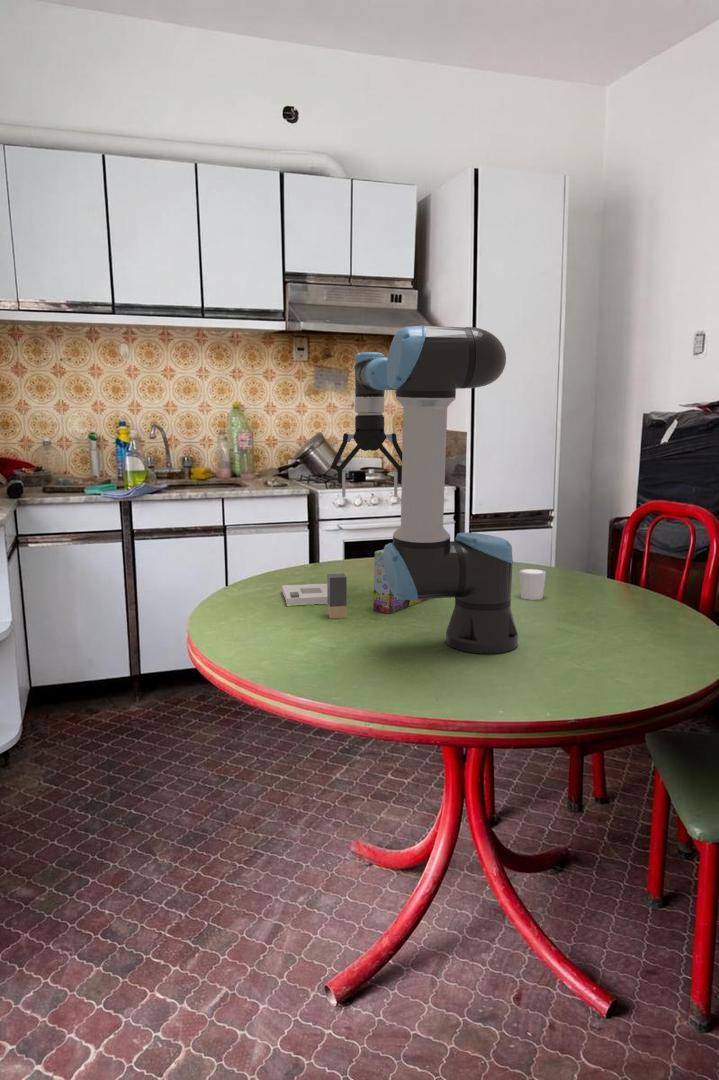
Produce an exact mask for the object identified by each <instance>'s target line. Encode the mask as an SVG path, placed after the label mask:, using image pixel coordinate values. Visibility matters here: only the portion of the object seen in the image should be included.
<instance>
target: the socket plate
mask: <svg viewBox="0 0 719 1080" xmlns="http://www.w3.org/2000/svg"><path fill="white" fill-rule="evenodd" d="M282 592H283V594H282V596H283V595H284V597H285V600H286V602H285V604H286V603H287V604H326V605H328V604H327V603H328V600H327V583H313V584H312V583H311V584H310V583H307V584H290V585H289V584H288V585H281V593H282ZM284 597H283V598H284ZM285 600H284V601H285Z"/></svg>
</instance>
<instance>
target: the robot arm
mask: <svg viewBox="0 0 719 1080" xmlns="http://www.w3.org/2000/svg"><path fill="white" fill-rule="evenodd" d="M506 354H507V353H506V350H505V348H504V345H503V343H502V342H501V341H500V339H499V338H498V337H496V336H495V335H494V334H493V333H491V332H490V331H487V330H486V329H483V328H479V327H471V326H466V327H465V326H464V327H462V326H461V327H459V326H458V327H457V326H438V325H437V326H435V325H434V326H433V325H414V326H404V327H401V328H400V329H398V331H396V333H395V334H394V337H393V339H392V341H391V343H390V346H389V351H388V356H387V357H385V355H384V354H383V353H381V352H377V351H374V352H373V351H371V352H370V351H365V352H364V351H363V352H358V353H356V355H355V359H354V367H353V368H354V394H355V395H354V411H355V413H356V416H354V418H355V419H354V421H355V423H354V426H355V427H354V434H352V433H351V434H350V433H347V432H346V433H343V435H342V443H341V444H340V447H339V448H338V451H337V453H336V455H335V457H334V459H333V461H332V463H331V465H330V468H331V470H335V471H337V483H338V484H339V485H341V486H342V487H341V497H342V498H346V471H345V470H344V469H345V467H346V466H347V465H348V464H349V463H350V462H351V461H352V460H353V458H354V457H355V456H356V455H357V453H358V452H359V451H360V450H362V451H363V452H367V451H372V452H373V451H378V450H380V451H381V453H382V454H383V455H384V456H385V458H386V459H387V461H389V462H390V464H391V465H392V466H393V467H394V468H395V469H396V470H394V471H393V480H394V481H393V496H394V498H397V497H398V485H399V484H401V491H400V492H401V495H400V496H401V499H400V500H401V501H400V525H399V527H398V528H397V529H396V530H395V531H394V532H393V535H392V542H389V543H387V544H385V545H384V547H383V549H384V552H383V560H384V569H385V574H386V578H387V582H388V585H389V588H390V590H391V592H392V594H393V595H394V596H395V597H396V598H398V599H400V600H420V599H428V600H430V599H431V600H435V599H446V598H447V599H449V598H454V608H453V610H452V613H451V617H450V620H449V622H448V625H447V628H446V633H445V642H446V644H447V645H448V646H449V647H451V648H453V649H454V650H458V651H462V652H467V653H472V654H487V655H489V654H500V653H506V652H510V651H513V650H514V649H516V648H517V647H518V645H519V643H518V642H519V633H518V629H517V627H516V624H515V620H514V615H513V612H512V609H511V607H512V606H511V605H512V603H511V602H512V585H513V584H512V583H513V582H512V578H513V565H514V561H513V546H512V544H511V543H510V542H509V540H507V539H505V538H502V537H499V536H495V535H490V534H486V533H485V534H484V533H479V532H478V533H476V532H459V533H457V534H456V536H455V540H454V541H453V540H452V541H451V534H450V532H448V531H447V530H446V529H445V527H444V511H445V509H444V508H445V505H444V504H445V483H446V480H445V479H446V478H445V477H446V459H447V458H446V457H447V456H446V455H447V454H446V453H447V450H446V449H447V430H448V429H447V427H448V425H447V424H448V423H447V422H448V407H449V406H450V405H451V404H452V403H453V402H454V401H455V400H456V395H457V393H456V391H457V389H463V390H464V389H476V388H482V387H485V386H488V385H490V384H492V383H494V382H496V381H497V379H498V380H499V378H500V377H501V375H502V374H503V373H504V370H505V367H506V364H507V355H506ZM385 391H395V399H396V400H397V401H398V402H399V403H400V404H401V405H402V407H403V408H402V409H403V411H402V413H403V414H402V448H401V447H400V445H399V443H398V439H397V433H395V432H392V433H388V434H386V433H385V416H384V415H383V414H384V413H385ZM352 439H353V440H354V441H355V443H356V446H355V447H354V448H353V449H352V451H350V453H349V454H348V455H347V456H346V458H345V459H344V460H343V461H342V462H341V464H339V465H338V463H339V461H340V459H341V457H342V455H343V452H344V450H345V449H346V447H347V445H348V443H350V442H351V440H352ZM386 439H387V440H388V442H390V443H392V446H393V448H394V450H395V451H396V453H397V455H398V458H399V459H400V462H401V465H400V464H399V462H398V461H396V459H395V458H394V456H392V454H391V453H390V452H389V451H388V450H387V449H386V447H385V446H384V442H385V441H386Z"/></svg>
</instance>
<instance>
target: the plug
mask: <svg viewBox="0 0 719 1080" xmlns="http://www.w3.org/2000/svg"><path fill="white" fill-rule="evenodd" d="M326 576H327V577H326V579H327V583H326V584H327V600H328V604H327V616H328V615H329V616H328V618H329V617H330V618H340V619H347V618H348V616H347V615H348V613H347V611H348V609H347V607H348V606H347V604H348V603H347V601H348V600H347V599H348V598H347V597H348V594H347V593H348V592H347V586H348V584H347V583H348V582H347V579H348V578H347V575H346V574H345V573H342V572H341V573H327V575H326ZM330 618H329V619H330Z"/></svg>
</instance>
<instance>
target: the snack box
mask: <svg viewBox="0 0 719 1080" xmlns="http://www.w3.org/2000/svg"><path fill="white" fill-rule="evenodd" d="M383 552H384V548H383V549H380V550H376V551H374V563H373V564H374V566H373V567H374V569H373V570H374V571H373V572H374V573H373V605H372V607H373V608H372V610H373V611H375V612H379V613H384V614H392V613H395V612H397V611H400V610H403V609H405V608H409V607H411V606H415V605H417V604H419V603H422V602H425V601H428V600H429V599H420V600H400V599H398V598H396V597H395V596H394V595H393V594H392V592H391V590H390V588H389V585H388V582H387V578H386V574H385V569H384V560H383Z"/></svg>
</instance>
